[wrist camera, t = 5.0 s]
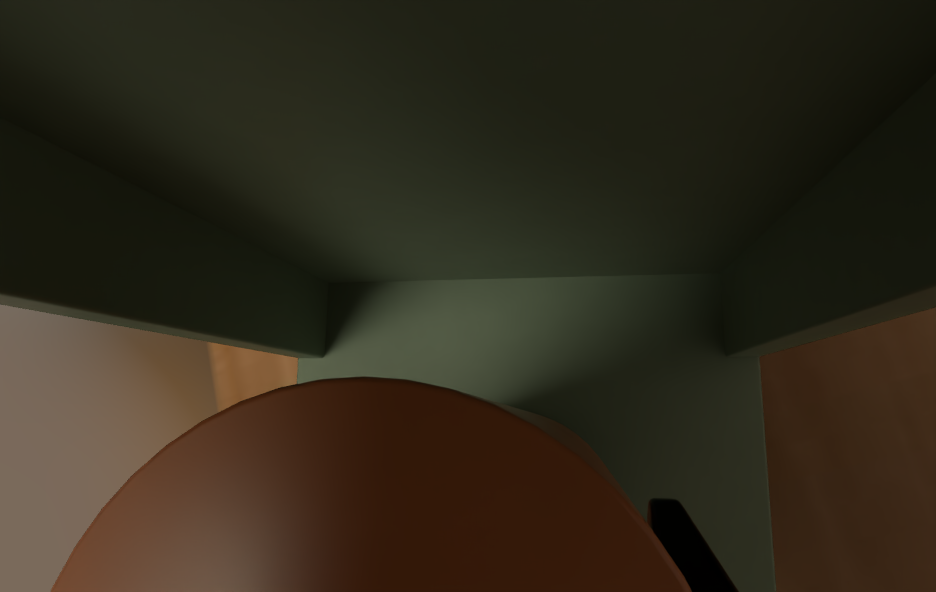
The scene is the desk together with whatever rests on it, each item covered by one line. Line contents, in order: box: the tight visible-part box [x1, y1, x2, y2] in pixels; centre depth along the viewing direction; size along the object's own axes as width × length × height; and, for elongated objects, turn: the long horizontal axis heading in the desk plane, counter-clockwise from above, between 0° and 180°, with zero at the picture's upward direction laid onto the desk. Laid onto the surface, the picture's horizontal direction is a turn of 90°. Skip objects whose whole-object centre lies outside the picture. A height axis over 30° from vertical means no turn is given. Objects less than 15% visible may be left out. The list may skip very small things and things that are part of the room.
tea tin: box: [51, 376, 692, 592], centre depth 9 cm, size 5×5×11 cm
